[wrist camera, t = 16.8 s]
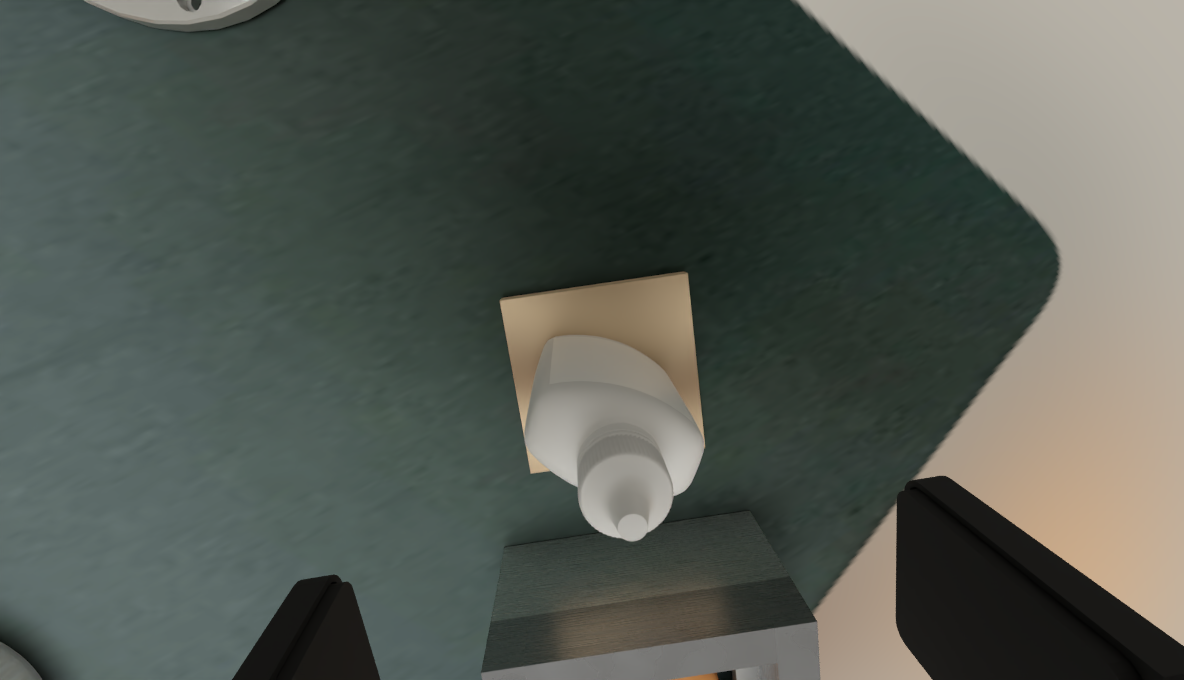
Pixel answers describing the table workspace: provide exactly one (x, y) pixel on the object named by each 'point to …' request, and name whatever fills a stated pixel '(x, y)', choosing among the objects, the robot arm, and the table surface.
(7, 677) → the ramekin
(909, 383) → the table surface
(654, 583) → the grey box
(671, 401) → the eye dropper bottle
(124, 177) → the table surface
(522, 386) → the coaster
